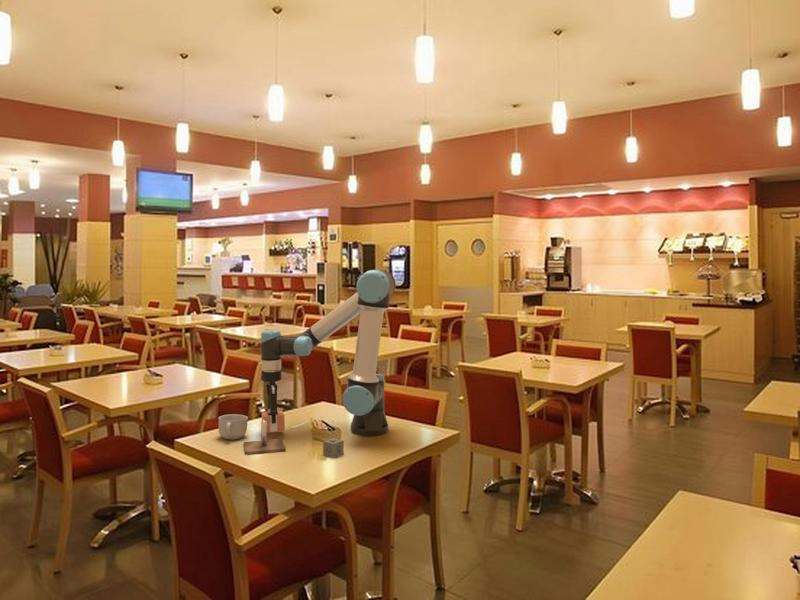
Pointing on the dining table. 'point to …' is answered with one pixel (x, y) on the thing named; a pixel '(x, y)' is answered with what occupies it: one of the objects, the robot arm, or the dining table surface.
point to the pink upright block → (279, 420)
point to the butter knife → (299, 424)
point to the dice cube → (333, 447)
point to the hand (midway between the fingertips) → (272, 428)
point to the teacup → (232, 426)
